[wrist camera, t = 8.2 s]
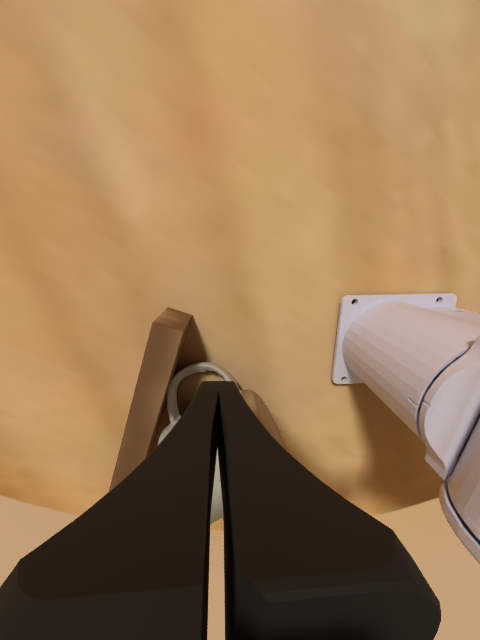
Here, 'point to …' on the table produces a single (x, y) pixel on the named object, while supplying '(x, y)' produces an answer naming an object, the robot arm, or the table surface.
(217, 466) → the ceramic mug
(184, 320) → the rail
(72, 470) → the table surface
